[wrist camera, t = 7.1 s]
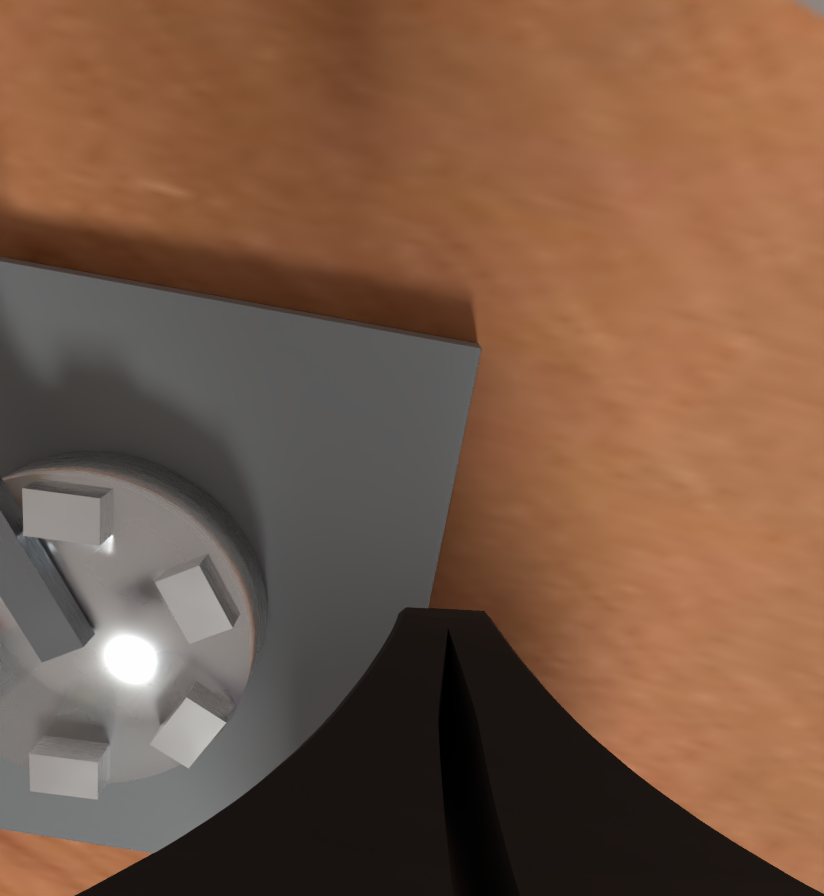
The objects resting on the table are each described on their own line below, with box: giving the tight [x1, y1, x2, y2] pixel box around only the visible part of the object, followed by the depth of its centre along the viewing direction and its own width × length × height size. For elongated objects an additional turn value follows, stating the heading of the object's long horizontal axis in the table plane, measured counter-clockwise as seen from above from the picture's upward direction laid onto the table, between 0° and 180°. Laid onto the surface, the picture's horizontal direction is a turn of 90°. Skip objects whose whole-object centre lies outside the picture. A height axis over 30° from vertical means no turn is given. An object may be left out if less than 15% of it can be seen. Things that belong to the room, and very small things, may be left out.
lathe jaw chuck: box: [0, 452, 268, 800], centre depth 16 cm, size 12×9×5 cm
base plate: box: [0, 256, 481, 853], centre depth 20 cm, size 18×18×1 cm
